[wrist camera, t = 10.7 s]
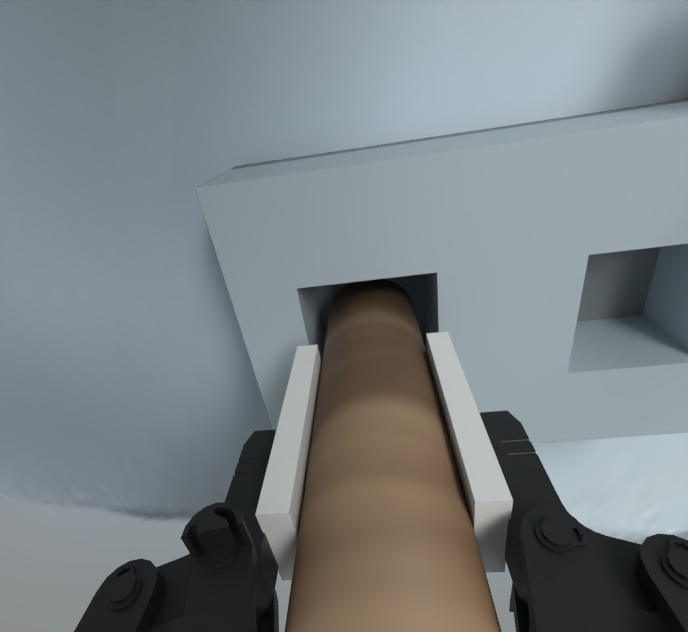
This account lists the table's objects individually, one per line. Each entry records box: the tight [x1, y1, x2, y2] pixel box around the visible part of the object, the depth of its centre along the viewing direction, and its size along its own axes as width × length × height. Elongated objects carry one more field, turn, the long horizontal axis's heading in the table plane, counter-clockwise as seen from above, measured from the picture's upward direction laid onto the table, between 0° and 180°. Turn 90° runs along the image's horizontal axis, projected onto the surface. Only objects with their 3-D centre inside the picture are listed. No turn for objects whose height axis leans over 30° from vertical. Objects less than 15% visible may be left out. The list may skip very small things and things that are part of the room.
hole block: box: [195, 99, 688, 443], centre depth 18 cm, size 14×22×5 cm, turn 98°
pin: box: [285, 279, 501, 632], centre depth 11 cm, size 4×4×16 cm
